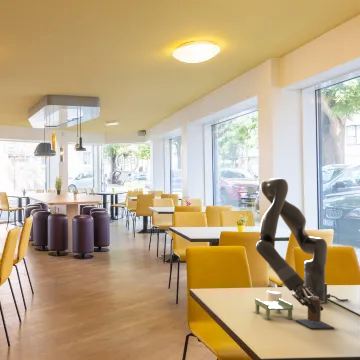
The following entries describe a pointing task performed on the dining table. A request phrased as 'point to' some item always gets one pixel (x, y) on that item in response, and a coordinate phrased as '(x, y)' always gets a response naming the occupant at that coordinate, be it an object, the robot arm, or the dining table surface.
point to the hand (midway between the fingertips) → (318, 311)
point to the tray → (274, 307)
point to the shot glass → (273, 296)
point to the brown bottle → (317, 305)
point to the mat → (315, 324)
